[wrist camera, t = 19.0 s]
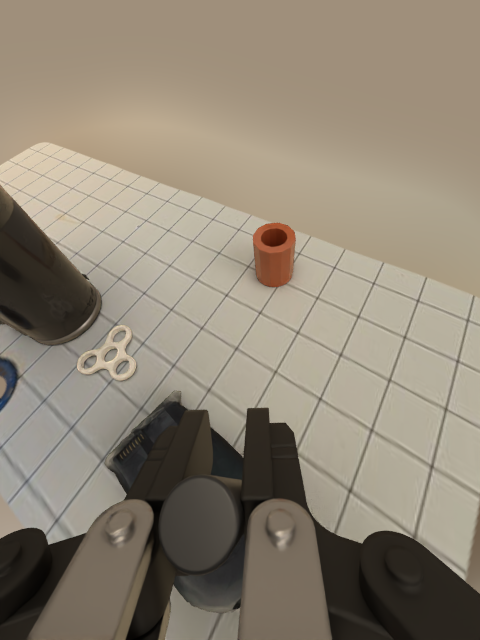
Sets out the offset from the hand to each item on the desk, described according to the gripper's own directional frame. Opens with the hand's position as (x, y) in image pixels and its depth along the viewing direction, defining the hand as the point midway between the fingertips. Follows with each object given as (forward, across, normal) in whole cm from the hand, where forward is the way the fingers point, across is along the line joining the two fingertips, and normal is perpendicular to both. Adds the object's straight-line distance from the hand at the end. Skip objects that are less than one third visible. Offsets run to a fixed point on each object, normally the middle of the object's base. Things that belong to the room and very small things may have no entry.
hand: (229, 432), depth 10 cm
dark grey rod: (+4, 0, +7) cm, 8 cm away
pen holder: (+28, -3, -3) cm, 28 cm away
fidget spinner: (+21, +16, +4) cm, 27 cm away
